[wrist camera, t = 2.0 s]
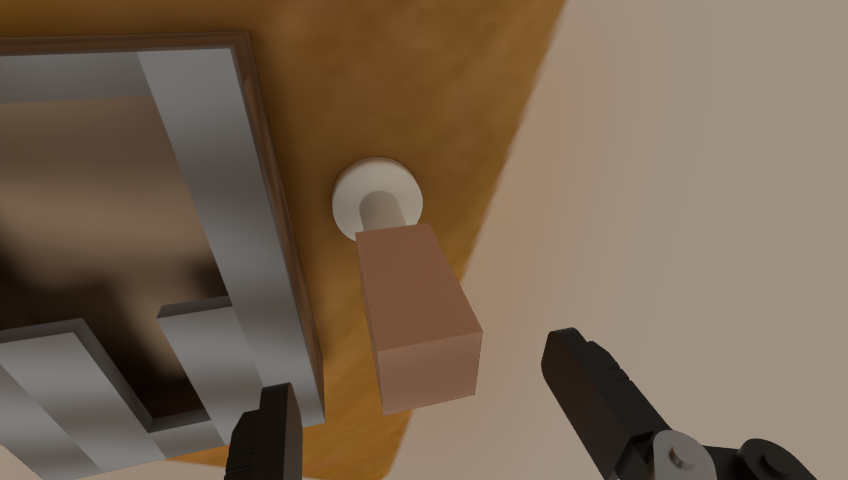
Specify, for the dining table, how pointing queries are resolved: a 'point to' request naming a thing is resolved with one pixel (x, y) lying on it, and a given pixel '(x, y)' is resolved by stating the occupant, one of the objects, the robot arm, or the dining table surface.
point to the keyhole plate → (142, 251)
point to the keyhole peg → (406, 289)
